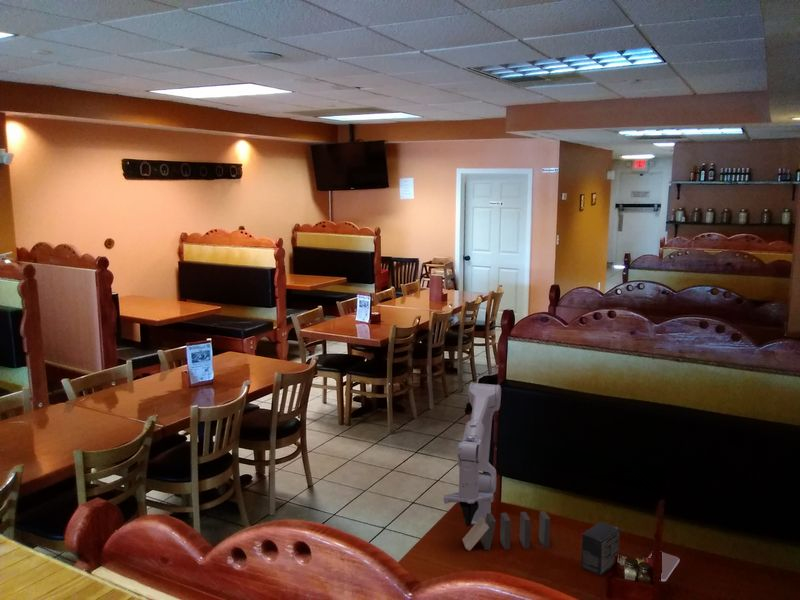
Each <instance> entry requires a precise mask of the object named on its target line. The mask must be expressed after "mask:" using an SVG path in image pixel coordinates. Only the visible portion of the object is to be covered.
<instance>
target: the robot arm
mask: <svg viewBox="0 0 800 600" xmlns="http://www.w3.org/2000/svg"><path fill="white" fill-rule="evenodd" d="M501 397H502V387H501V385H500V384H489V383H477V382H470V384H469V386H468V394H467V398H468V400H469V404H470V406H471V408H472V410H471V415H470V416H471V417H470V420H469V421H467V422H466V423H465V427H464V431H463V436H462V439H461V441H459V442H458V444H457V453H456V455H457V456H456V457H457V466H458V467H459V469H458V471H459V474H458V491H457V492H454V493H448V494H443V503H444V504H445V505H448V504H450V503H451V504H452V503H459V506H460V508H461V511H462V514H463V519H464V524H465V527H471V526H472V525H475V524H476V522H477V521H478V520H479V519H480V518H481V517H482V518H484V519H486V515H487V513H491V512H492V510H491V509H492V508H491V506H492V503H493V502H494V494H495V492H496V491H497V490H496V489H497V469H496V468H495V467H494V465H492V464H491V463H490V462H489V461H490V450H491V449H490V448H491V439H492V438H491V437H492V436H491V435H492V426H493V425H492V424H493V416H494V413H495V412H497V411H499V410H500V408H501ZM491 514H492V513H491Z"/></svg>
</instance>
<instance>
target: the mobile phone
mask: <svg viewBox="0 0 800 600" xmlns="http://www.w3.org/2000/svg"><path fill="white" fill-rule="evenodd" d="M661 552H662V573H661V581H660V582H667V580H668V578H669V577H670V575H671V574H672V573H673V571H674V569H675V568H676V567H677V566H678V564H679V563H680V558H679V557H678V556H677V555H672V554H669V553H666V552H663V551H661ZM651 556H652V552H651V554H649V556H648V557H647V559H648V558H651Z"/></svg>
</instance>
